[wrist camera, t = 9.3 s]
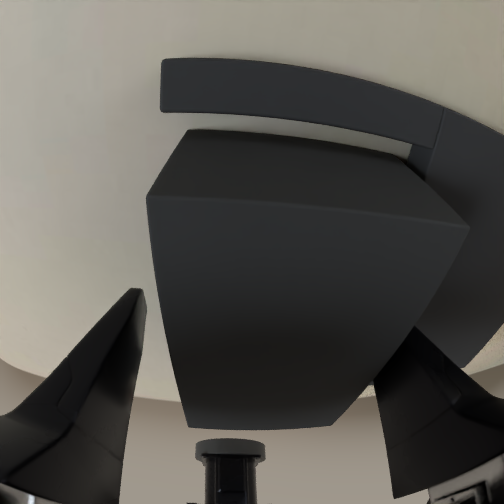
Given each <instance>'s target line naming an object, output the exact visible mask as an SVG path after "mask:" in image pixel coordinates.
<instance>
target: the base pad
mask: <svg viewBox="0 0 504 504" xmlns="http://www.w3.org/2000/svg"><path fill="white" fill-rule="evenodd" d="M160 110H161V112H163V113H215V114H234V115H248V116H259V117H270V118H279V119H287V120H295V121H302V122H309V123H316V124H322V125H328V126H334V127H340V128H345V129H350V130H355V131H360V132H365V133H369V134H374V135H378V136H383V137H387V138H391V139H395V140H399V141H403V142H406V143H410V144H412V147H411V151H410V154H409V157H408V161H407V164H406V166H407V167H408V168H410V169H411V170H412V171H413V172H414V173H415V174H416V175H417V176H419V177H420V178H421V179H422V180H423V181H424V182H425V183H426V184H427V185H429V186H430V187H431V188H432V189H433V190H434V191H435V192H436V193H437V194H438V195H439V196H440V197H441V198H442V199H443V200H444V201H445V202H446V203H447V204H448V205H449V206H450V207H451V208H452V209H453V210H454V211H455V212H456V213H457V214H458V215H459V216H460V217H461V218H462V219H463V220H464V221H465V222H466V223H467V225H468V226H469V227H470V230H469V232H468V234H467V236H466V238H465V240H464V242H463V244H462V246H461V248H460V250H459V252H458V254H457V256H456V258H455V260H454V262H453V263H452V265H451V267H450V269H449V271H448V272H447V274H446V276H445V278H444V279H443V281H442V283H441V284H440V286H439V288H438V290H437V291H436V293H435V294H434V296H433V298H432V299H431V301H430V302H429V304H428V306H427V307H426V309H425V310H424V312H423V313H422V315H421V316H420V318H419V319H418V321H417V322H416V324H415V326H416V327H417V328H418V329H419V330H420V331H421V332H422V333H423V334H424V335H425V336H426V337H427V338H429V339H430V340H431V341H432V342H433V343H434V344H435V345H436V346H437V347H438V348H439V349H440V350H441V351H442V352H443V353H444V354H445V355H446V356H447V357H448V358H450V359H451V360H452V361H453V362H454V363H455V364H456V365H457V366H458V367H459V368H464V367H465V366H466V365H467V364H468V363H469V362H470V361H471V360H472V359H473V358H474V357H475V356H476V355H477V354H478V353H479V351H480V350H481V349H482V348H483V347H484V346H485V345H486V344H487V342H488V341H489V340H490V339H491V338H492V337H493V335H494V334H495V333H496V332H497V331H498V329H499V328H500V327H501V326H502V324H503V323H504V135H502V134H500V133H498V132H496V131H495V130H493V129H491V128H489V127H487V126H485V125H483V124H481V123H479V122H477V121H475V120H473V119H471V118H469V117H466V116H464V115H462V114H460V113H458V112H455V111H453V110H451V109H448V108H446V107H443V106H441V105H439V104H436V103H434V102H431V101H428V100H426V99H423V98H420V97H418V96H415V95H412V94H409V93H406V92H403V91H400V90H397V89H394V88H391V87H387V86H384V85H381V84H377V83H374V82H370V81H366V80H363V79H359V78H355V77H351V76H346V75H342V74H337V73H333V72H328V71H323V70H318V69H312V68H307V67H301V66H294V65H287V64H280V63H272V62H263V61H252V60H239V59H221V58H170V59H164V60H162V62H161V86H160ZM369 385H373V380H372V382H371V383H370V384H369Z"/></svg>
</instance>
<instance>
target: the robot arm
mask: <svg viewBox="0 0 504 504" xmlns="http://www.w3.org/2000/svg"><path fill="white" fill-rule="evenodd" d="M146 314H147V305H146V301H145V297H144V292H143V290H142V289H141V288H130V289H129V290H128V291H127V292H126V293H125V294H124V295H123V296H122V297H121V298H120V299H119V300H118V301H117V302H116V303H115V304H114V305H113V306H112V307H111V308H110V310H109V311H108V312H107V313H106V314H105V315H104V316H103V317H102V318H101V319H100V320H99V321H98V322H97V323H96V324H95V326H94V327H93V328H92V329H91V330H90V331H89V332H88V333H87V334H86V335H85V336H84V338H83V339H82V340H81V341H80V342H79V343H78V344H77V345H76V346H75V348H74V349H73V350H72V351H71V352H70V353H69V354H68V355H67V357H68V358H67V357H66V358H65V359H64V360H63V361H62V362H61V363H60V364H59V366H58V367H57V368H56V369H55V370H54V371H53V372H52V373H51V374H50V375H49V376H48V377H47V378H46V379H45V380H44V381H43V382H42V383H41V384H40V385H39V386H38V387H37V388H36V389H35V390H34V391H33V392H32V393H31V394H30V395H29V396H28V397H27V398H26V399H25V400H24V401H23V402H22V403H21V404H20V405H19V406H18V407H16V408H15V409H14V410H13V411H11V412H9V413H7V414H5V415H2V416H0V504H119V496H120V486H121V476H122V468H123V459H124V451H125V444H126V437H127V431H128V424H129V418H130V412H131V406H132V401H133V396H134V390H135V385H136V380H137V375H138V370H139V366H140V361H141V356H142V350H143V340H144V331H145V322H146ZM373 385H374V389H375V394H376V398H377V403H378V408H379V412H380V417H381V422H382V427H383V433H384V438H385V444H386V450H387V457H388V463H389V469H390V476H391V483H392V491H393V497H394V499H396V498H400V497H403V496H406V495H410V494H413V493H416V492H419V491H421V490H424V489H427V488H428V492H429V497H430V498H429V501H428V502H427V504H504V399H501V398H498V397H495V396H493V395H491V394H490V393H488V392H487V391H486V390H485V389H484V388H482V387H481V386H480V385H479V384H478V383H477V382H475V381H474V380H473V379H472V378H471V377H469V376H468V375H467V374H466V373H465V372H464V371H462V370H461V369H460V368H459V367H458V366H457V365H456V364H455V363H454V362H453V361H452V360H451V359H450V358H448V357H447V356H446V355H445V354H444V353H443V352H442V351H441V350H440V349H439V348H438V347H437V346H436V345H435V344H434V343H433V342H432V341H431V340H430V339H429V338H427V337H426V336H425V335H424V334H423V333H422V332H421V331H420V330H419V329H418V328H417V327H416V326H415V325H414V327H413V328H412V330H411V331H410V332H409V334H408V335H407V337H406V338H405V339H404V341H403V342H402V343H401V345H400V346H399V348H398V349H397V350H396V352H395V353H394V354H393V355H392V357H391V358H390V359H389V361H388V362H387V363H386V364H385V366H384V367H383V368H382V369H381V371H380V372H379V373H378V374H377V376H376V377H375V378H374V379H373ZM261 459H262V458H261V455H233V454H208V453H202V454H201V460H202V463H203V466H205V468H206V469H205V504H257V494H256V493H257V492H256V469H255V467H256V466H257V465H258V463H259V462H260V460H261ZM187 504H197V503H187Z"/></svg>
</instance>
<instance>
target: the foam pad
mask: <svg viewBox="0 0 504 504" xmlns="http://www.w3.org/2000/svg"><path fill="white" fill-rule="evenodd" d="M146 205H147V215H148V225H149V234H150V242H151V250H152V257H153V264H154V271H155V278H156V284H157V291H158V297H159V302H160V308H161V313H162V319H163V324H164V329H165V334H166V339H167V344H168V349H169V353H170V358H171V362H172V367H173V371H174V375H175V379H176V383H177V387H178V391H179V395H180V399H181V403H182V406H183V410H184V414H185V417H186V421H187V424H188V427H191V428H203V429H222V430H279V429H298V428H311V427H322V426H331V425H332V424H333V423H334V422H335V421H336V420H337V419H338V418H339V417H340V416H341V415H342V414H343V413H344V412H345V411H346V410H347V409H348V408H349V407H350V405H351V404H352V403H353V402H354V401H355V400H356V399H357V398H358V397H359V396H360V394H361V393H362V392H363V391H364V390H365V389H366V387H367V386H368V385H369V384H370V383H371V382H372V380H373V379H374V378H375V377H376V376H377V374H378V373H379V372H380V371H381V369H382V368H383V367H384V366H385V364H386V363H387V362H388V361H389V359H390V358H391V357H392V355H393V354H394V353H395V352H396V350H397V349H398V348H399V346H400V345H401V343H402V342H403V341H404V339H405V338H406V337H407V335H408V334H409V332H410V331H411V330H412V328H413V327H414V325H415V324H416V322H417V321H418V319H419V318H420V316H421V315H422V313H423V312H424V310H425V309H426V307H427V306H428V304H429V302H430V301H431V299H432V298H433V296H434V294H435V293H436V291H437V290H438V288H439V286H440V284H441V283H442V281H443V279H444V278H445V276H446V274H447V272H448V271H449V269H450V267H451V265H452V263H453V262H454V260H455V258H456V256H457V254H458V252H459V250H460V248H461V246H462V244H463V242H464V240H465V238H466V236H467V234H468V232H469V230H470V227H469V226H468V225H467V223H466V222H465V221H464V220H463V219H462V218H461V217H460V216H459V215H458V214H457V213H456V212H455V211H454V210H453V209H452V208H451V207H450V206H449V205H448V204H447V203H446V202H445V201H444V200H443V199H442V198H441V197H440V196H439V195H438V194H437V193H436V192H435V191H434V190H433V189H432V188H431V187H430V186H429V185H427V184H426V183H425V182H424V181H423V180H422V179H421V178H420V177H419V176H417V175H416V174H415V173H414V172H413V171H412V170H411V169H410V168H408V167H407V166H406V165H405V164H404V163H402V162H401V161H400V160H399V159H398V158H396V157H395V156H394V155H393V154H388V153H384V152H379V151H374V150H370V149H365V148H359V147H354V146H349V145H343V144H337V143H331V142H325V141H318V140H311V139H304V138H296V137H288V136H280V135H270V134H260V133H248V132H234V131H217V130H187V132H186V133H185V135H184V136H183V138H182V139H181V141H180V142H179V144H178V145H177V147H176V148H175V150H174V151H173V153H172V154H171V156H170V158H169V159H168V161H167V162H166V164H165V166H164V167H163V169H162V170H161V172H160V174H159V175H158V177H157V179H156V180H155V182H154V184H153V185H152V187H151V189H150V191H149V192H148V194H147V196H146Z"/></svg>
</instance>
